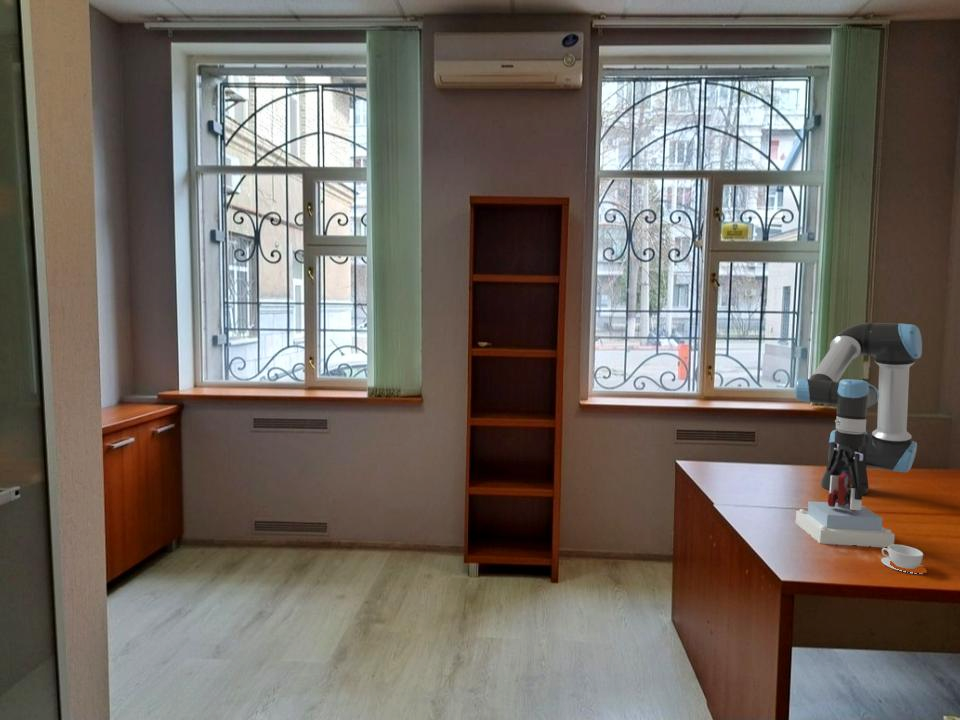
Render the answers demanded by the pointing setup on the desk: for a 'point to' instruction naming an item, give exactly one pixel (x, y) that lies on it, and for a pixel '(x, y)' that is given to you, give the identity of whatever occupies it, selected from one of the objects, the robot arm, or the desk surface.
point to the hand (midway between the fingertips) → (844, 502)
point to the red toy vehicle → (841, 491)
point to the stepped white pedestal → (843, 525)
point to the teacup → (902, 557)
